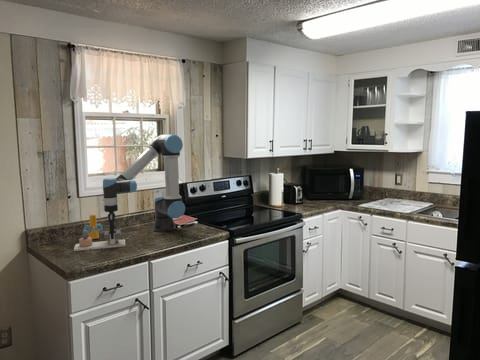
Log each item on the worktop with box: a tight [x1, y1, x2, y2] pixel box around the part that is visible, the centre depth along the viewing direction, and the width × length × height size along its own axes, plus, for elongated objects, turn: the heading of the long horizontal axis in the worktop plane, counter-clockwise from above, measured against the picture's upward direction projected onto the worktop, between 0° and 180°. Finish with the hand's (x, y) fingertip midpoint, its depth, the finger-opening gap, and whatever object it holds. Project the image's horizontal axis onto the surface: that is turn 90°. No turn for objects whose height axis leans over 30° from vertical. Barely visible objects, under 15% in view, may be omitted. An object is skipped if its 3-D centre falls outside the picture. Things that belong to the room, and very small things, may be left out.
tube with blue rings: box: [83, 214, 104, 240], centre depth 241 cm, size 12×10×15 cm
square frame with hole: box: [103, 229, 122, 240], centre depth 226 cm, size 9×9×2 cm
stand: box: [106, 231, 120, 244], centre depth 226 cm, size 6×6×8 cm
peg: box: [78, 229, 93, 247], centre depth 221 cm, size 7×7×9 cm
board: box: [73, 238, 126, 252], centre depth 224 cm, size 28×11×1 cm, turn 107°
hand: (112, 241), depth 226 cm, fingers closed on square frame with hole, 9 cm apart
